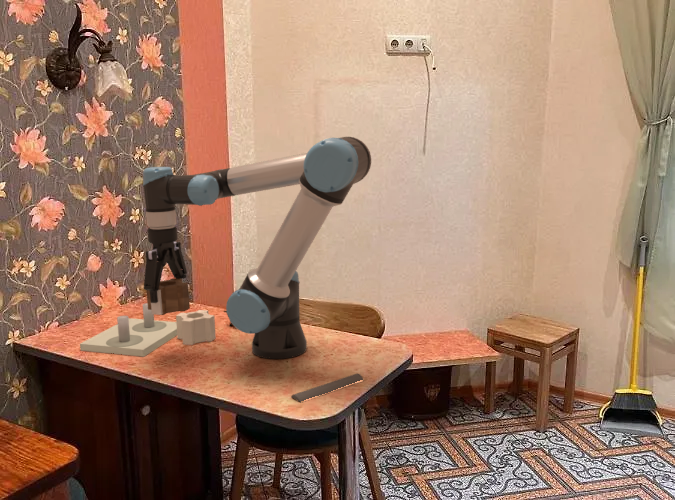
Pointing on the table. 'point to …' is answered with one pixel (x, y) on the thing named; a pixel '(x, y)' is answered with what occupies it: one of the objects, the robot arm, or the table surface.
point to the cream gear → (195, 327)
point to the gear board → (132, 336)
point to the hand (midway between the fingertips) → (168, 307)
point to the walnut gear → (172, 296)
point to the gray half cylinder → (327, 387)
